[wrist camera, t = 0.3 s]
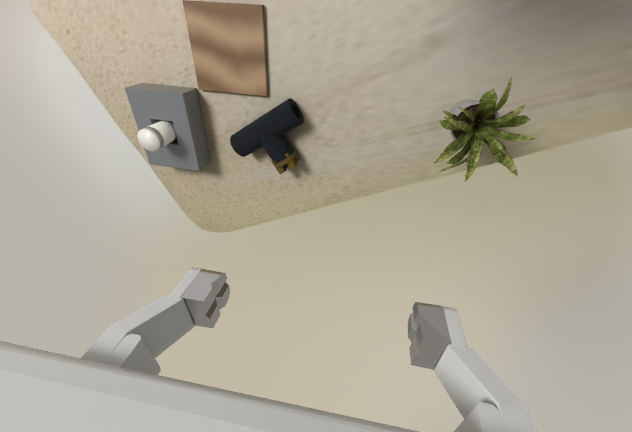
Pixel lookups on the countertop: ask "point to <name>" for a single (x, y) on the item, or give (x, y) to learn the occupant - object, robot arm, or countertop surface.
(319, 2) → the countertop surface
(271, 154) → the pipe connector
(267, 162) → the countertop surface
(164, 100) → the socket block
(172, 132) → the plug
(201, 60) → the pad
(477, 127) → the house plant
